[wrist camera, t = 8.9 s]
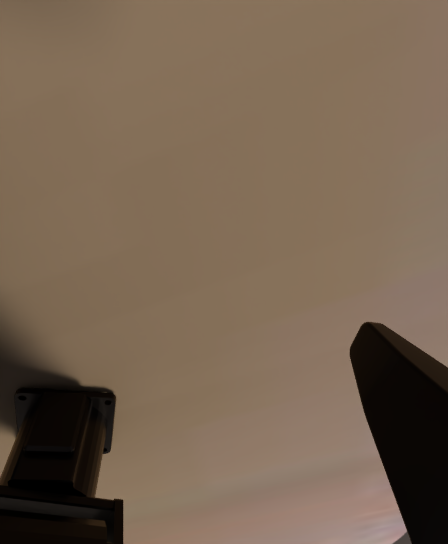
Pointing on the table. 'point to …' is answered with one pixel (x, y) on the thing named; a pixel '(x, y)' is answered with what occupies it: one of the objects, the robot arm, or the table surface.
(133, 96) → the table surface
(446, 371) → the robot arm
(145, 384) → the table surface
